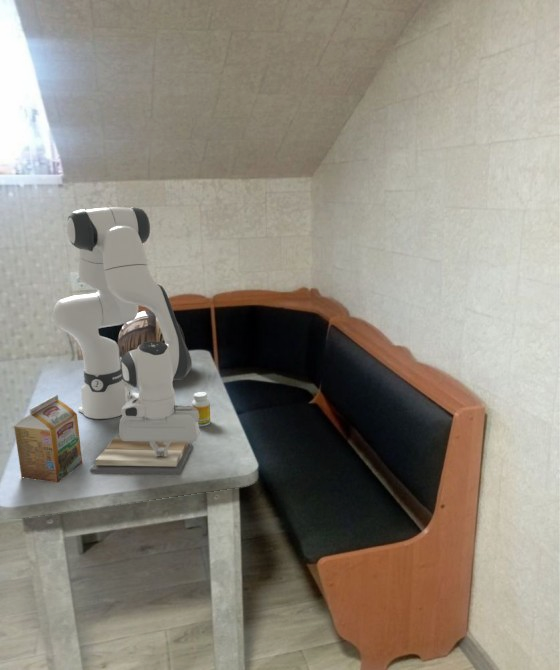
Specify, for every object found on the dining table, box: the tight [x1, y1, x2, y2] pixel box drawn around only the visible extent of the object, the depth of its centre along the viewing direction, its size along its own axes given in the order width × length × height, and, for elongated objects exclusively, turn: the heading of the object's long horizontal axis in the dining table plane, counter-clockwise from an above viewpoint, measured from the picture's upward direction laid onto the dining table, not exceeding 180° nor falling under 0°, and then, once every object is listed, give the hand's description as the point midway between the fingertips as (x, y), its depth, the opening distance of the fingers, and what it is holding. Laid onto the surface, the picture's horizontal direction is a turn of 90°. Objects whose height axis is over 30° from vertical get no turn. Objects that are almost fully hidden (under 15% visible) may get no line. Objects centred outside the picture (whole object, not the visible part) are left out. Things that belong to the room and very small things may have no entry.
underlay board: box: [90, 442, 193, 475], centre depth 154 cm, size 16×23×1 cm
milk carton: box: [13, 394, 83, 484], centre depth 147 cm, size 11×11×19 cm
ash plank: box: [95, 448, 183, 467], centre depth 151 cm, size 7×21×2 cm, turn 86°
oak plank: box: [105, 437, 190, 455], centre depth 158 cm, size 7×21×2 cm, turn 86°
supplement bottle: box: [191, 391, 211, 427], centre depth 176 cm, size 5×5×10 cm
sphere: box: [117, 309, 186, 359], centre depth 221 cm, size 25×25×25 cm
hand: (161, 455), depth 149 cm, fingers closed
